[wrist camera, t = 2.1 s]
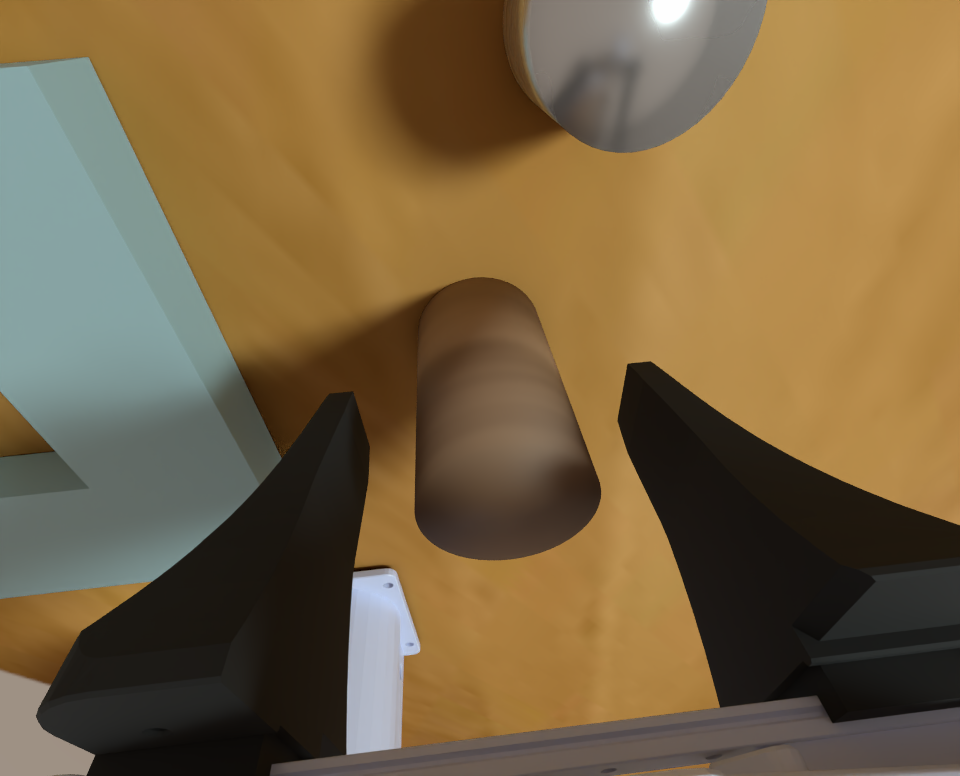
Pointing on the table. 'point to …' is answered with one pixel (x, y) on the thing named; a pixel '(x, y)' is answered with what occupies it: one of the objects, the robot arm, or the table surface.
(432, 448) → the walnut pin
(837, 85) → the table surface
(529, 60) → the grey round piece
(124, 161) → the hole board
